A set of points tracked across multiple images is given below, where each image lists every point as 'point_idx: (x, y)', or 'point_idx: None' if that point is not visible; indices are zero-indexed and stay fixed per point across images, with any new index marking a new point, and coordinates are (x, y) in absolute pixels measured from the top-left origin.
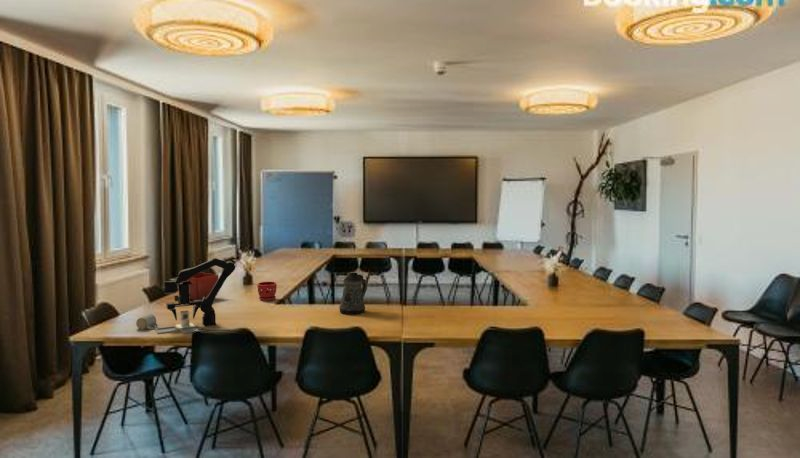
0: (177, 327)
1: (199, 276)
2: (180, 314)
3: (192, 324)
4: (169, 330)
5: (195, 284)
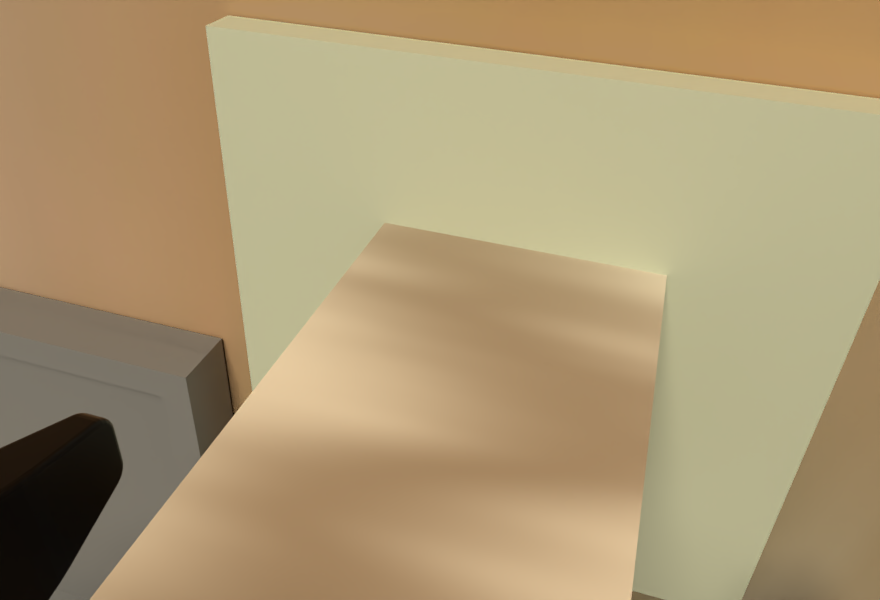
0: None
1: None
2: (121, 568)
3: (776, 428)
4: None
5: None
